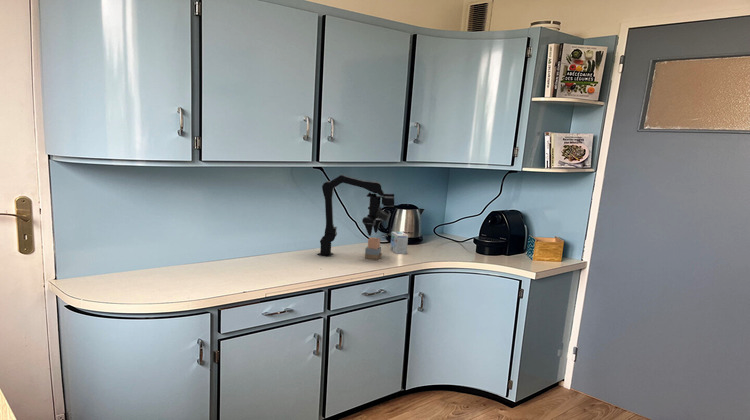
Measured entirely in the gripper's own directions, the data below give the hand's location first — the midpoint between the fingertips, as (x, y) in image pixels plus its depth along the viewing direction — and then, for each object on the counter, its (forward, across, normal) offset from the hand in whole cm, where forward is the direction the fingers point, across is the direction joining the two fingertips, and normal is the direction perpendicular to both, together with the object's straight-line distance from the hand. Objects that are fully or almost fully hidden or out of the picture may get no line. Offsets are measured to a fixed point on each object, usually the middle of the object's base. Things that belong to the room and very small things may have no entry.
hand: (372, 234), depth 267 cm
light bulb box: (+13, +22, -9) cm, 27 cm away
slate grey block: (+10, 0, -1) cm, 10 cm away
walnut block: (+13, 0, -1) cm, 13 cm away
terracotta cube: (+7, 0, -1) cm, 7 cm away
